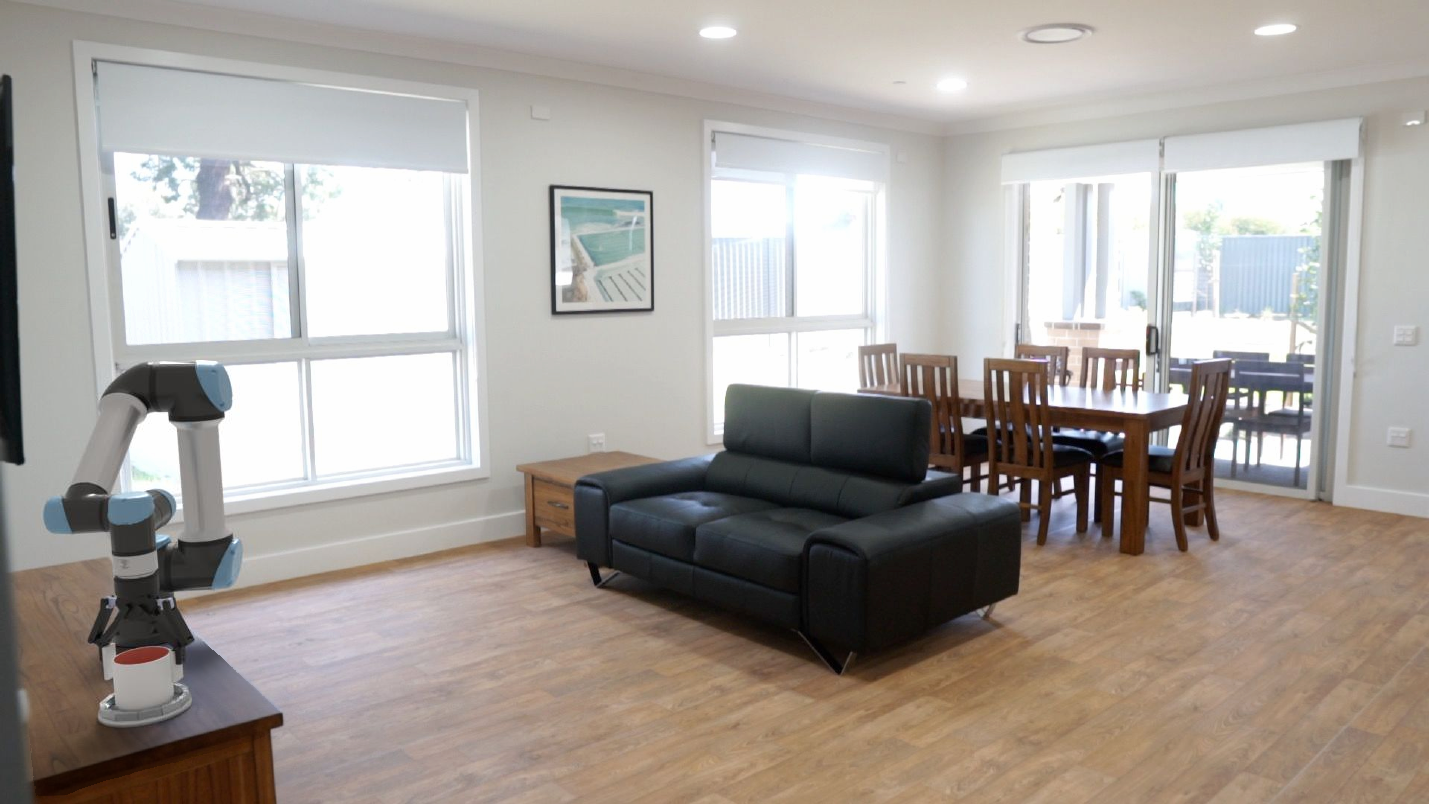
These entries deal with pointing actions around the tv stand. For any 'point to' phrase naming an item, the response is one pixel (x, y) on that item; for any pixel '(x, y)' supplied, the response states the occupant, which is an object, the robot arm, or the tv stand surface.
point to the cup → (142, 679)
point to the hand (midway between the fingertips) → (144, 678)
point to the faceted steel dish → (120, 719)
